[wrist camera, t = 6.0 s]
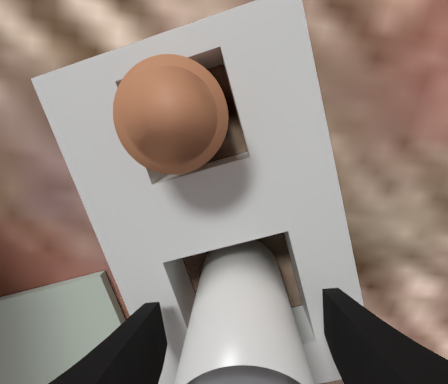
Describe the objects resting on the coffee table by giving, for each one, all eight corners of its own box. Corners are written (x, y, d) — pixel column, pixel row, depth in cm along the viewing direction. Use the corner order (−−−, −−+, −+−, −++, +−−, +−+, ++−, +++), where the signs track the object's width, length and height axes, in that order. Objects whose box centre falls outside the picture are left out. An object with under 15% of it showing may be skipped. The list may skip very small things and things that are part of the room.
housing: (71, 88, 12) (30, 78, 10) (285, 16, 11) (298, -15, 9) (180, 367, 16) (170, 411, 13) (353, 331, 15) (377, 372, 12)
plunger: (146, 95, 12) (95, 75, 8) (218, 72, 12) (208, 37, 7) (170, 167, 13) (136, 187, 8) (239, 147, 12) (241, 157, 8)
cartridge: (192, 247, 14) (128, 423, 6) (268, 228, 13) (319, 387, 5) (214, 312, 15) (187, 550, 6) (286, 296, 14) (356, 528, 6)
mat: (-54, 311, 15) (-64, 316, 15) (104, 270, 14) (99, 275, 14) (21, 440, 17) (15, 449, 17) (165, 413, 16) (162, 422, 16)
